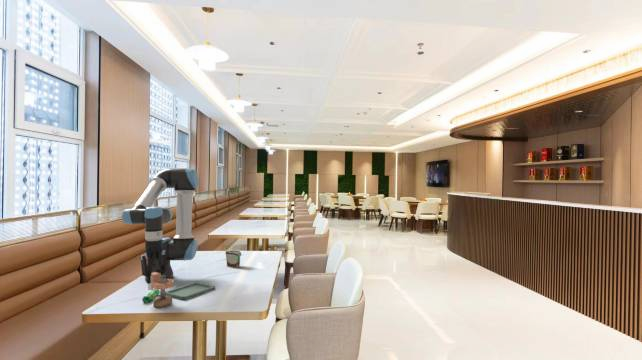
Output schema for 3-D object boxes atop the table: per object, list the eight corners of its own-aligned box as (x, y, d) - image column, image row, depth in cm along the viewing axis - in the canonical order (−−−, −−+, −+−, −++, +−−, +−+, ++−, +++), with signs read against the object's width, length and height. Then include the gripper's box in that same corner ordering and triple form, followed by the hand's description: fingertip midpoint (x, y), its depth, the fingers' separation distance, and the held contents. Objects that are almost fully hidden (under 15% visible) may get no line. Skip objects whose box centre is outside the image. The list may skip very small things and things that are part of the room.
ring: (161, 290, 159) (160, 279, 159) (142, 285, 166) (142, 275, 166) (178, 284, 167) (177, 274, 167) (160, 280, 174) (159, 270, 173)
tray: (184, 300, 171) (184, 297, 171) (163, 295, 179) (163, 292, 179) (215, 289, 189) (215, 286, 189) (195, 284, 196) (195, 281, 196)
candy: (151, 293, 180) (155, 286, 180) (156, 296, 180) (161, 290, 180) (140, 301, 168) (145, 294, 168) (146, 305, 168) (151, 298, 168)
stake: (149, 306, 164) (149, 276, 163) (164, 300, 171) (164, 272, 170) (160, 309, 160) (160, 279, 160) (175, 303, 167) (175, 275, 166)
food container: (245, 266, 236) (245, 251, 235) (238, 268, 230) (238, 253, 230) (232, 264, 242) (232, 249, 242) (225, 266, 237) (225, 251, 237)
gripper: (142, 243, 159) (143, 295, 160) (174, 237, 173) (174, 284, 174) (132, 241, 163) (133, 292, 163) (164, 235, 177) (164, 282, 178)
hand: (154, 288), depth 169 cm, fingers closed on ring, 3 cm apart
